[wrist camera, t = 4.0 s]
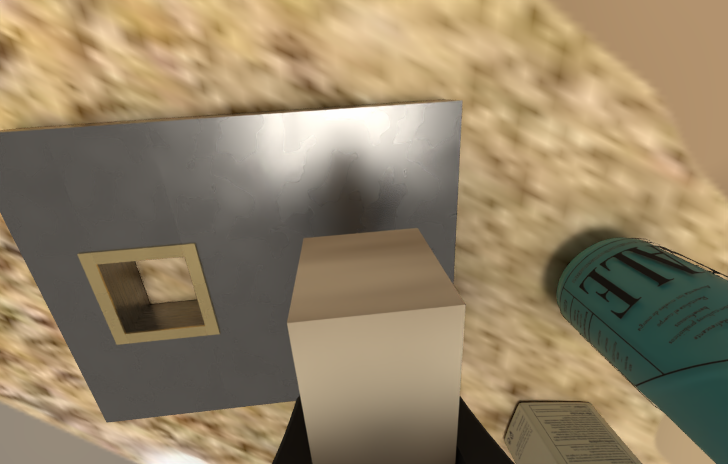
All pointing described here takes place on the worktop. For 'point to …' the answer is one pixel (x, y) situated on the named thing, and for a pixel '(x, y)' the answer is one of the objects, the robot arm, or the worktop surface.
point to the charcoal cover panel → (213, 235)
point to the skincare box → (564, 436)
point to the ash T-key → (377, 349)
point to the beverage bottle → (657, 330)
